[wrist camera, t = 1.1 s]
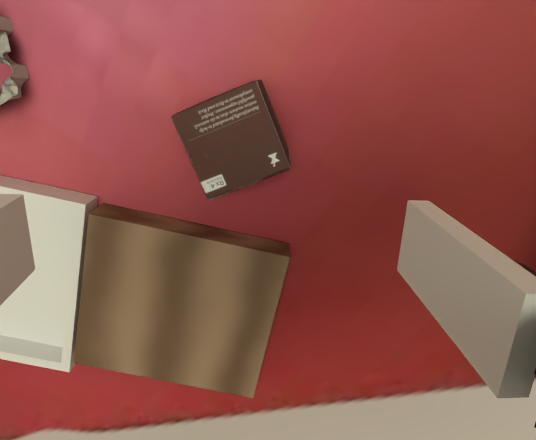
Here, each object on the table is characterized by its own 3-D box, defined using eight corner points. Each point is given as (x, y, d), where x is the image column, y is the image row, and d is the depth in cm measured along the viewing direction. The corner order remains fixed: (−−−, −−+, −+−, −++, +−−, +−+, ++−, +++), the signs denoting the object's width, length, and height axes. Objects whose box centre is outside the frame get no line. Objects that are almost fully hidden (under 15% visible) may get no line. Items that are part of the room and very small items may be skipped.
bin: (98, 196, 36) (85, 204, 34) (81, 355, 41) (69, 372, 39) (-48, 164, 35) (-72, 170, 33) (-48, 330, 40) (-68, 345, 38)
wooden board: (288, 243, 37) (290, 257, 34) (254, 376, 41) (253, 397, 39) (103, 203, 36) (88, 213, 33) (88, 342, 40) (73, 363, 38)
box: (262, 77, 33) (259, 77, 26) (289, 151, 35) (293, 169, 28) (189, 107, 34) (167, 115, 27) (220, 177, 35) (207, 202, 28)
